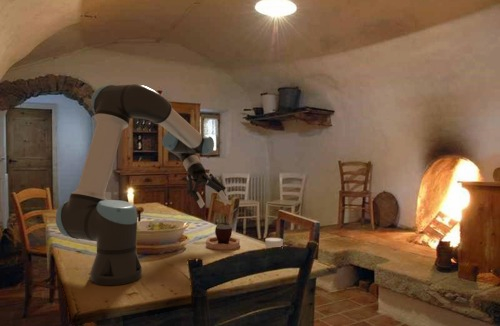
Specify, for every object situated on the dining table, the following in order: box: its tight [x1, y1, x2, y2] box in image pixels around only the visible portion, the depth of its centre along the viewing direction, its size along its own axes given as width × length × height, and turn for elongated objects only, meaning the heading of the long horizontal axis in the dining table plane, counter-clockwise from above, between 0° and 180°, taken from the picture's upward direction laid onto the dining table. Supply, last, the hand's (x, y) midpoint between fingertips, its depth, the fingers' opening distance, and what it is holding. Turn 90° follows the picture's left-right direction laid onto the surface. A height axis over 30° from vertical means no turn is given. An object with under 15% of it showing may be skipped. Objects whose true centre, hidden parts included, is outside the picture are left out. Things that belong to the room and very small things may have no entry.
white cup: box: [265, 237, 284, 249], centre depth 145 cm, size 7×7×7 cm
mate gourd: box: [214, 207, 238, 244], centre depth 161 cm, size 8×8×15 cm
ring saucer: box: [205, 236, 241, 251], centre depth 161 cm, size 14×14×2 cm
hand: (215, 204), depth 165 cm, fingers open, 13 cm apart
